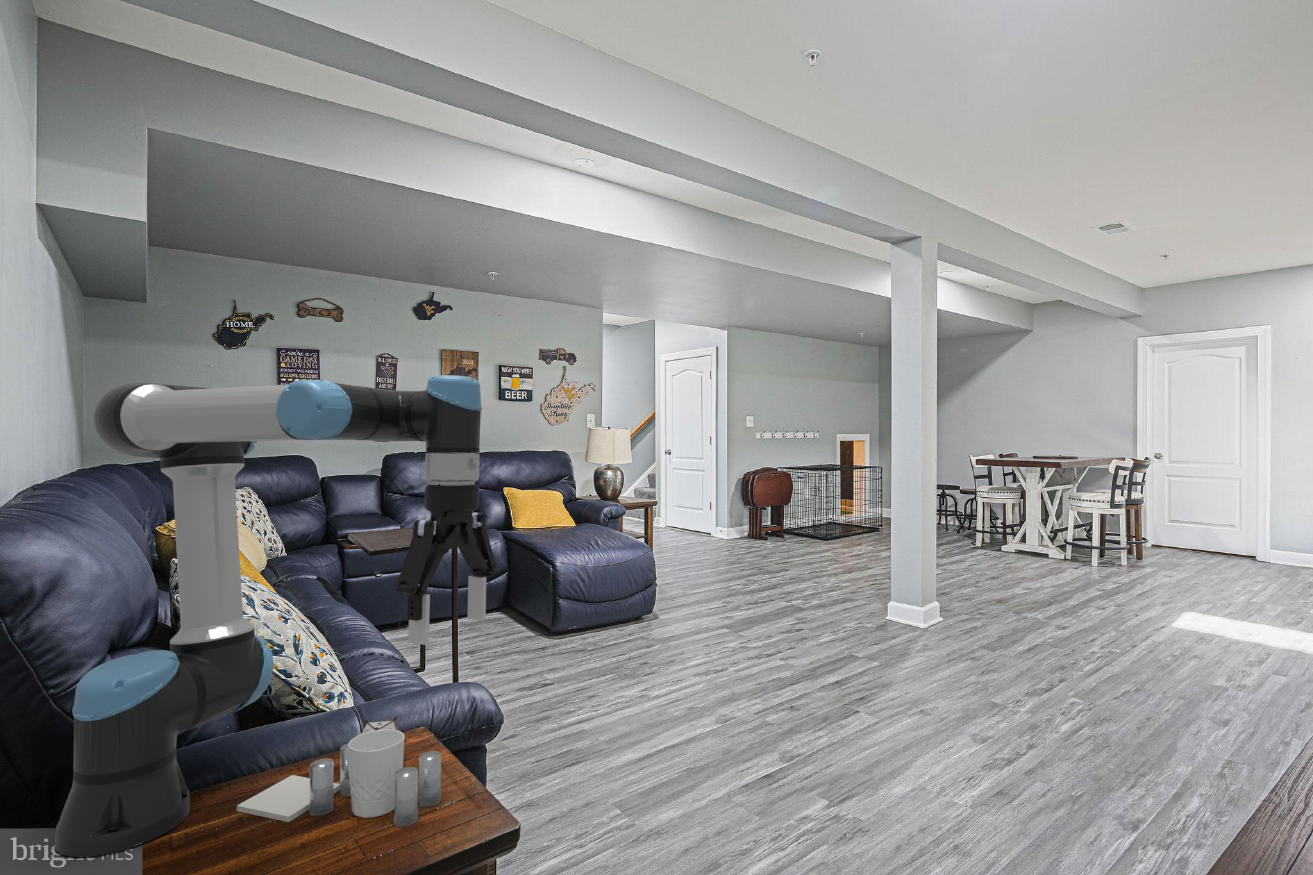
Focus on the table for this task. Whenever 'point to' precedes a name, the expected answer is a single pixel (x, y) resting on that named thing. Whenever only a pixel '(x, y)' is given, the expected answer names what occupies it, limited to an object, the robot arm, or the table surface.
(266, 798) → the coaster
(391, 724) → the game die
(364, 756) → the white cup
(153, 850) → the table surface
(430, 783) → the spacer posts
